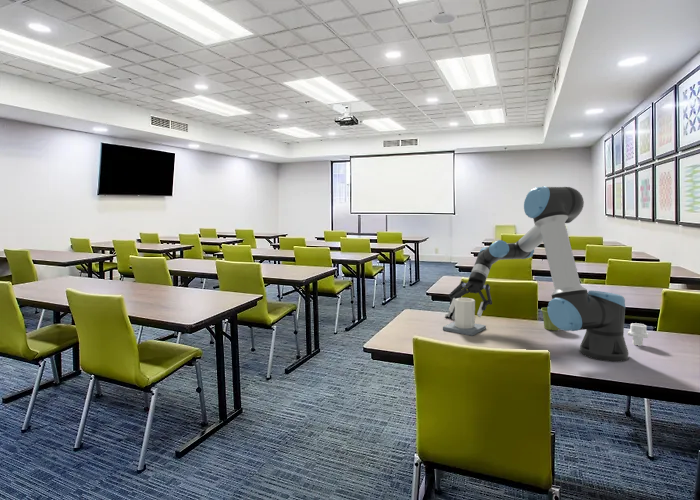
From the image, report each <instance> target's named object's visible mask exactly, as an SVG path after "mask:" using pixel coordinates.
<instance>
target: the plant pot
mask: <svg viewBox="0 0 700 500" xmlns="http://www.w3.org/2000/svg"><path fill="white" fill-rule="evenodd" d="M547 308H548V307H541V309H540V311H541V312H542V318H543V327H544V329H545V330H548V331H549V330H550V331H553V332H554V331H559V330H560V329H559V328H557V326H555V325H554V324H553V323H552V321H551V320H550V318H549V315H548V310H547Z"/></svg>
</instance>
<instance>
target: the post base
mask: <svg viewBox="0 0 700 500" xmlns="http://www.w3.org/2000/svg"><path fill="white" fill-rule="evenodd" d="M486 329H487V325H486V324H481V323H475V327H473V328H467V329H464V328H458V327H456V326H455V321H453V322H450V323H449V324H446V325H444V326H442V330H443V331H446V332H452V333H456V334H461V335H467V336H471V337H472V336H475V335H477V334H478V333H481V332H482V331H484V330H486Z"/></svg>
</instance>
